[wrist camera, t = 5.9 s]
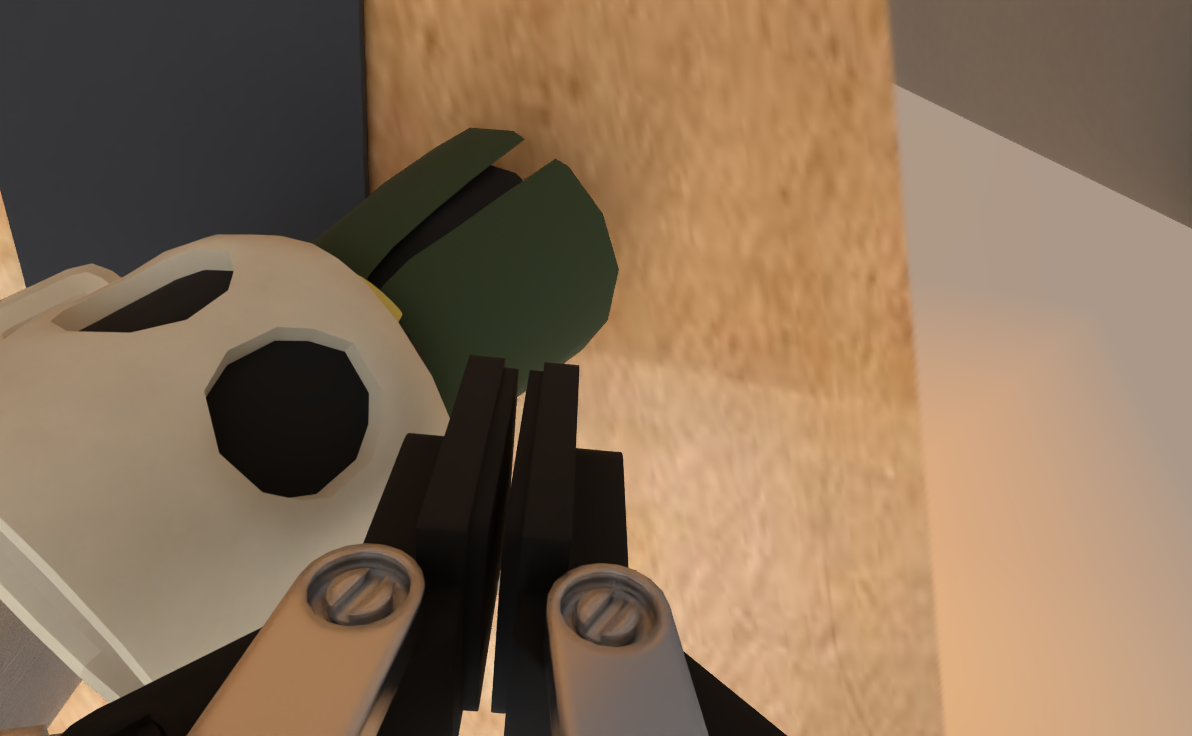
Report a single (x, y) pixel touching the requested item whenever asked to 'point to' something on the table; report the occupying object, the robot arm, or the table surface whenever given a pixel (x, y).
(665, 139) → the table surface
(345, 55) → the mat
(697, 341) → the table surface
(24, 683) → the grey hollow cylinder
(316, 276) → the character mug
